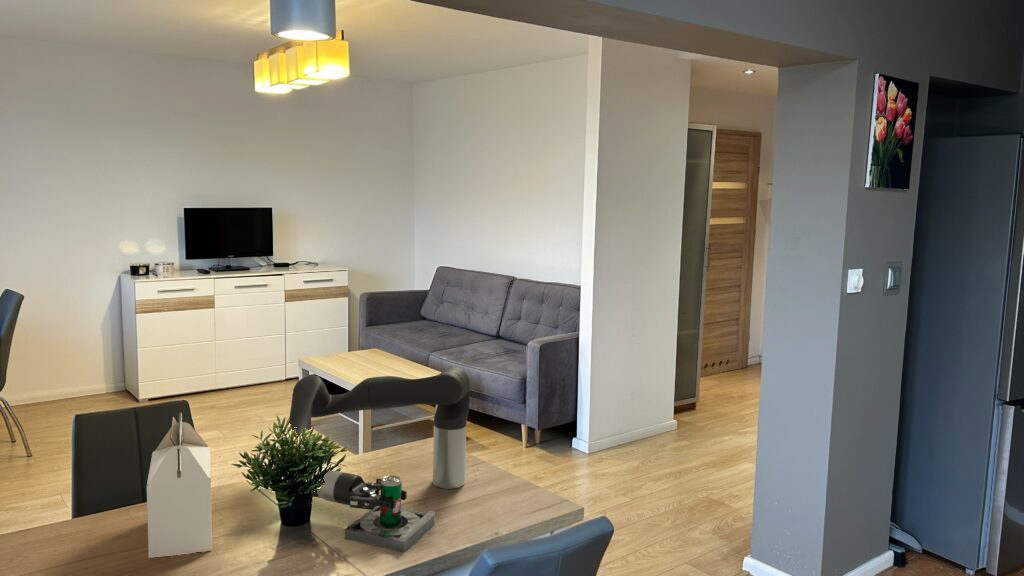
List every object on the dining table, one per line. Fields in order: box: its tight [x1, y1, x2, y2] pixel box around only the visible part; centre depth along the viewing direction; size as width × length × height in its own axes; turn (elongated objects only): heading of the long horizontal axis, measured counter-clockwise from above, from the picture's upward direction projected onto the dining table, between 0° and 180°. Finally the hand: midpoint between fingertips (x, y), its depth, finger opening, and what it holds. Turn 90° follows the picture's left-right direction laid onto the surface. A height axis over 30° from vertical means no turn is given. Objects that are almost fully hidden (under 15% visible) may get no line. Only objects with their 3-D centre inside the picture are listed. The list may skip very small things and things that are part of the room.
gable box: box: [146, 412, 213, 558], centre depth 185 cm, size 22×13×28 cm, turn 21°
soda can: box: [379, 474, 403, 530], centre depth 192 cm, size 5×5×12 cm
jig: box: [344, 507, 435, 553], centre depth 193 cm, size 16×16×4 cm
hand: (400, 499), depth 191 cm, fingers closed on soda can, 5 cm apart
